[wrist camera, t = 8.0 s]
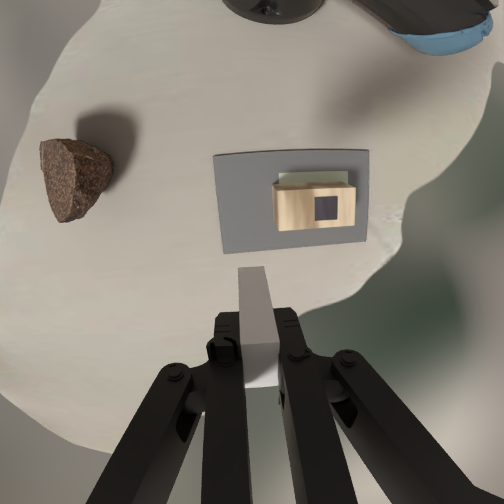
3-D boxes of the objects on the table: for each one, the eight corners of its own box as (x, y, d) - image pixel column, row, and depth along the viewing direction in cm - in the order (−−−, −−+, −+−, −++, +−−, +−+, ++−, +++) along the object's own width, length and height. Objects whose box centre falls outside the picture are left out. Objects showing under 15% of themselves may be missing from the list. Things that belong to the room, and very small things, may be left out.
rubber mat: (223, 253, 40) (223, 254, 40) (213, 156, 35) (212, 156, 34) (364, 240, 41) (366, 241, 40) (367, 150, 35) (369, 150, 35)
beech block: (279, 231, 34) (354, 225, 34) (277, 191, 32) (356, 187, 32) (273, 219, 38) (341, 215, 38) (271, 184, 36) (341, 181, 37)
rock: (34, 157, 28) (43, 114, 21) (91, 141, 35) (114, 102, 29) (57, 234, 29) (68, 206, 23) (116, 210, 37) (144, 181, 30)
